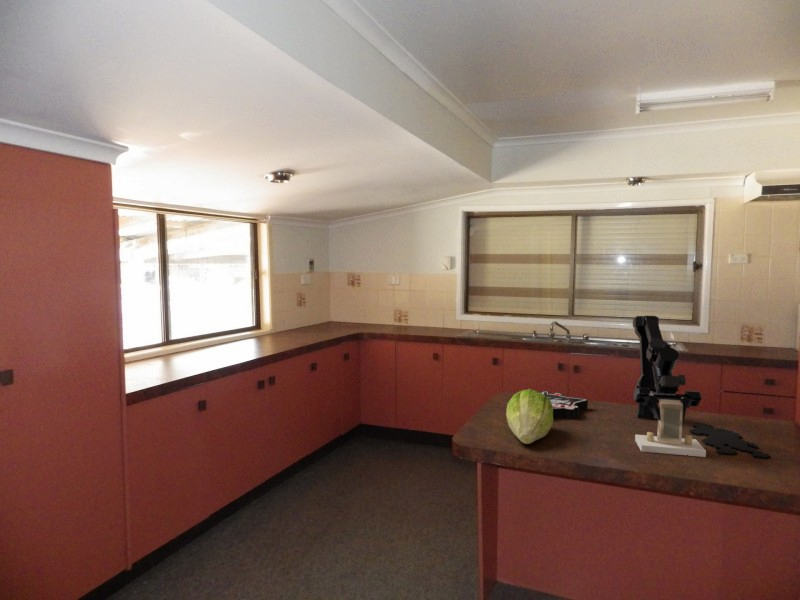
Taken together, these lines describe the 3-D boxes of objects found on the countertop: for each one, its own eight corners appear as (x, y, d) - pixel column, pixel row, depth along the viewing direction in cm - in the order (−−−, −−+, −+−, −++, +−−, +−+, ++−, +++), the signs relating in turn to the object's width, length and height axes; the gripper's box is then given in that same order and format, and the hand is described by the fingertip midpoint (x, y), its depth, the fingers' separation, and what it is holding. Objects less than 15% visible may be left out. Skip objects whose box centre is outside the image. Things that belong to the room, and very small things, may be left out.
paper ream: (657, 438, 161) (658, 399, 160) (677, 440, 159) (679, 400, 158) (660, 443, 157) (661, 403, 156) (681, 445, 155) (683, 404, 154)
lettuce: (552, 463, 159) (503, 462, 165) (556, 416, 179) (513, 416, 186) (545, 426, 154) (495, 426, 160) (550, 381, 174) (506, 383, 181)
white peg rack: (635, 440, 166) (635, 427, 165) (695, 445, 161) (696, 431, 160) (641, 451, 156) (641, 437, 156) (705, 457, 151) (706, 442, 151)
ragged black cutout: (771, 460, 149) (729, 427, 179) (771, 457, 149) (730, 425, 178) (712, 455, 153) (681, 424, 182) (712, 452, 153) (681, 422, 182)
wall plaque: (589, 396, 205) (579, 416, 179) (589, 406, 206) (578, 428, 179) (522, 388, 218) (502, 406, 192) (522, 397, 219) (502, 416, 192)
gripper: (637, 363, 163) (643, 406, 153) (701, 366, 158) (711, 410, 148) (631, 381, 171) (637, 422, 161) (692, 384, 166) (701, 427, 156)
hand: (671, 420), depth 156 cm, fingers open, 6 cm apart
